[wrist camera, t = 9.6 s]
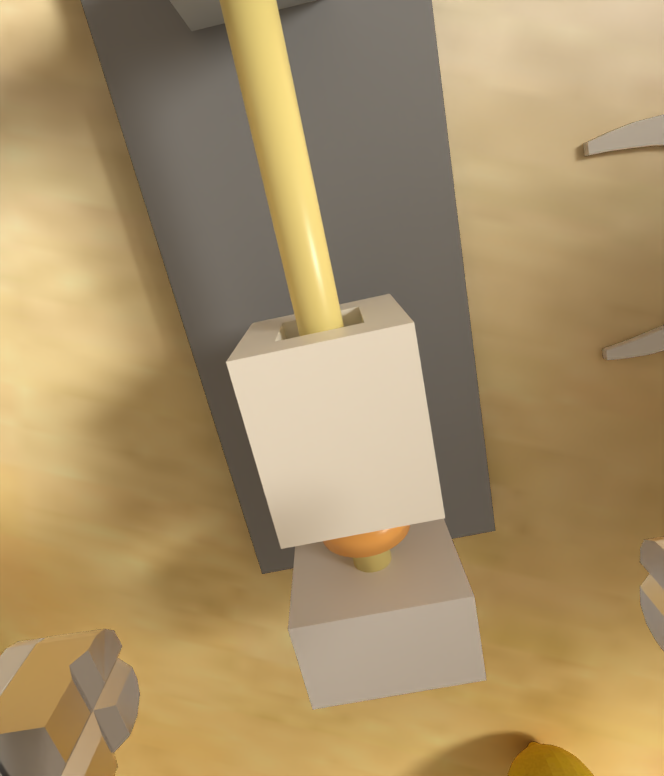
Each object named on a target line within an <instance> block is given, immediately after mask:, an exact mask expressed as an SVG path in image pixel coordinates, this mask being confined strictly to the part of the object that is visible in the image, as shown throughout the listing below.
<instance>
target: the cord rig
mask: <svg viewBox="0 0 664 776" xmlns="http://www.w3.org/2000/svg"><path fill="white" fill-rule="evenodd" d="M81 3H82V6H83V9H84V12H85V16H86V19H87V22H88V25H89V28H90V31H91V35H92V38H93V41H94V44H95V47H96V50H97V54H98V57H99V60H100V63H101V66H102V69H103V72H104V76H105V79H106V82H107V85H108V88H109V91H110V95H111V98H112V101H113V104H114V107H115V110H116V114H117V117H118V120H119V123H120V126H121V129H122V132H123V136H124V139H125V142H126V145H127V148H128V151H129V155H130V158H131V161H132V164H133V167H134V170H135V174H136V177H137V180H138V183H139V186H140V189H141V192H142V196H143V199H144V202H145V205H146V208H147V211H148V215H149V218H150V221H151V224H152V227H153V230H154V234H155V237H156V240H157V243H158V246H159V249H160V252H161V256H162V259H163V262H164V265H165V268H166V271H167V275H168V278H169V281H170V284H171V287H172V290H173V294H174V297H175V300H176V303H177V306H178V309H179V312H180V316H181V319H182V322H183V325H184V328H185V331H186V335H187V338H188V341H189V344H190V347H191V350H192V354H193V357H194V360H195V363H196V366H197V369H198V372H199V376H200V379H201V382H202V385H203V388H204V391H205V395H206V398H207V401H208V404H209V407H210V410H211V414H212V417H213V420H214V423H215V426H216V429H217V432H218V436H219V439H220V442H221V445H222V448H223V451H224V455H225V458H226V461H227V464H228V467H229V470H230V474H231V477H232V480H233V483H234V486H235V489H236V492H237V496H238V499H239V502H240V505H241V508H242V511H243V515H244V518H245V521H246V524H247V527H248V530H249V533H250V537H251V540H252V543H253V546H254V549H255V552H256V556H257V559H258V562H259V565H260V568H261V571H262V574H265V573H270V572H275V571H281V570H286V569H292V568H293V578H292V589H291V600H290V612H289V623H288V631H289V635H290V638H291V641H292V644H293V648H294V651H295V654H296V657H297V660H298V664H299V667H300V670H301V673H302V677H303V680H304V683H305V686H306V689H307V693H308V696H309V699H310V702H311V706H312V709H319V708H325V707H331V706H337V705H343V704H348V703H354V702H360V701H366V700H372V699H378V698H384V697H390V696H396V695H402V694H408V693H414V692H419V691H425V690H431V689H437V688H443V687H449V686H455V685H461V684H467V683H473V682H479V681H485V680H486V673H485V666H484V659H483V652H482V645H481V638H480V631H479V625H478V618H477V611H476V604H475V597H474V594H473V591H472V589H471V586H470V584H469V581H468V579H467V576H466V574H465V571H464V569H463V566H462V564H461V561H460V559H459V556H458V554H457V551H456V548H455V546H454V543H453V541H452V539H453V538H459V537H464V536H469V535H475V534H480V533H486V532H491V531H495V523H494V515H493V507H492V498H491V490H490V482H489V473H488V465H487V457H486V448H485V440H484V432H483V423H482V415H481V407H480V399H479V390H478V382H477V374H476V365H475V357H474V349H473V340H472V332H471V324H470V315H469V307H468V299H467V291H466V282H465V274H464V266H463V257H462V249H461V241H460V232H459V224H458V216H457V207H456V199H455V191H454V183H453V174H452V166H451V158H450V149H449V141H448V133H447V124H446V116H445V108H444V99H443V91H442V83H441V75H440V66H439V58H438V50H437V41H436V33H435V25H434V16H433V8H432V0H81ZM386 294H390V295H391V296H392V297H393V298H394V299H395V300H396V302H397V303H398V304H399V305H400V306H401V307H402V309H403V310H404V311H405V312H406V313H407V314H408V316H409V317H410V318H411V319H412V320H413V321H414V324H415V330H416V337H417V343H418V349H419V356H420V362H421V368H422V375H423V381H424V387H425V394H426V400H427V406H428V412H429V419H430V425H431V431H432V438H433V444H434V450H435V457H436V463H437V469H438V475H439V482H440V488H441V494H442V501H443V507H444V513H445V518H443V519H438V520H433V521H427V522H422V523H417V524H411V525H406V526H401V527H395V528H390V529H385V530H379V531H374V532H369V533H363V534H358V535H353V536H347V537H342V538H337V539H332V540H326V541H321V542H316V543H310V544H305V545H300V546H294V547H289V548H284V549H281V547H280V544H279V540H278V537H277V534H276V530H275V527H274V523H273V520H272V517H271V513H270V510H269V506H268V503H267V500H266V496H265V493H264V490H263V486H262V483H261V479H260V476H259V473H258V469H257V466H256V462H255V459H254V456H253V452H252V449H251V445H250V442H249V439H248V435H247V432H246V429H245V425H244V422H243V418H242V415H241V412H240V408H239V405H238V401H237V398H236V395H235V391H234V388H233V385H232V381H231V378H230V374H229V371H228V368H227V364H226V361H227V360H228V358H229V357H230V355H231V354H232V352H233V351H234V349H235V348H236V346H237V345H238V343H239V342H240V340H241V339H242V338H243V336H244V335H245V333H246V332H247V330H248V329H249V327H250V326H251V324H252V323H255V322H260V321H265V320H269V319H274V318H278V317H283V316H288V315H292V314H294V315H295V319H296V323H297V327H298V331H299V336H304V335H308V334H313V333H318V332H322V331H327V330H332V329H337V328H341V327H344V324H343V320H342V315H341V310H340V305H339V304H344V303H348V302H353V301H358V300H362V299H367V298H372V297H376V296H381V295H386Z"/></svg>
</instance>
